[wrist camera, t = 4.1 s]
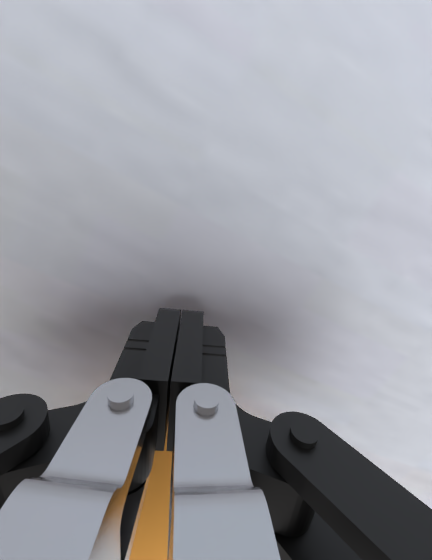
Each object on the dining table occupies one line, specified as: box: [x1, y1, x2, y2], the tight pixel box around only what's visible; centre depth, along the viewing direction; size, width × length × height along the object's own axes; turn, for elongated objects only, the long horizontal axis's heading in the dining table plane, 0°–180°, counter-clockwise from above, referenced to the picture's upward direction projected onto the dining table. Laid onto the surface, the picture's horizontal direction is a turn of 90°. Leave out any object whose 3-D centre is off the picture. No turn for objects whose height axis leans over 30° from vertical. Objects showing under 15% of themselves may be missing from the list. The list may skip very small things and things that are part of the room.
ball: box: [129, 427, 172, 560], centre depth 12 cm, size 6×6×6 cm
